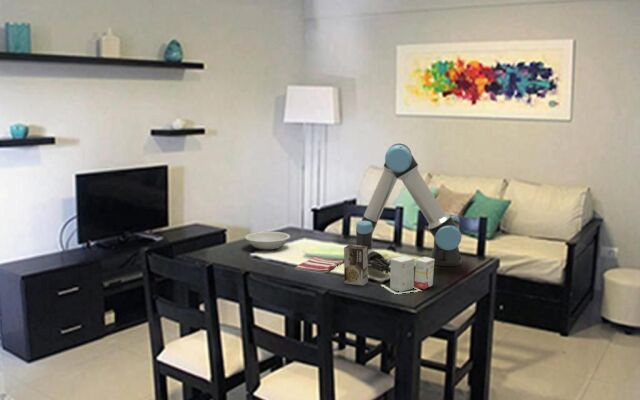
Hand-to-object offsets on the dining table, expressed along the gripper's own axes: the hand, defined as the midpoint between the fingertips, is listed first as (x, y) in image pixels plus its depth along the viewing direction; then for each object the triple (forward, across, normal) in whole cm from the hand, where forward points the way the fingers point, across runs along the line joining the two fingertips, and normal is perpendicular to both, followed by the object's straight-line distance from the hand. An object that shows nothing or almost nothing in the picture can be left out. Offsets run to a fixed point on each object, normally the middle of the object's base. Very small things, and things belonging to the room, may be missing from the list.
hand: (397, 272), depth 261 cm
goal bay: (+3, 0, -6) cm, 7 cm away
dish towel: (-43, +18, -7) cm, 47 cm away
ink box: (+5, -10, -6) cm, 13 cm away
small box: (+4, 0, -6) cm, 7 cm away
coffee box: (-11, +14, -6) cm, 19 cm away
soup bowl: (-85, +32, -6) cm, 91 cm away
